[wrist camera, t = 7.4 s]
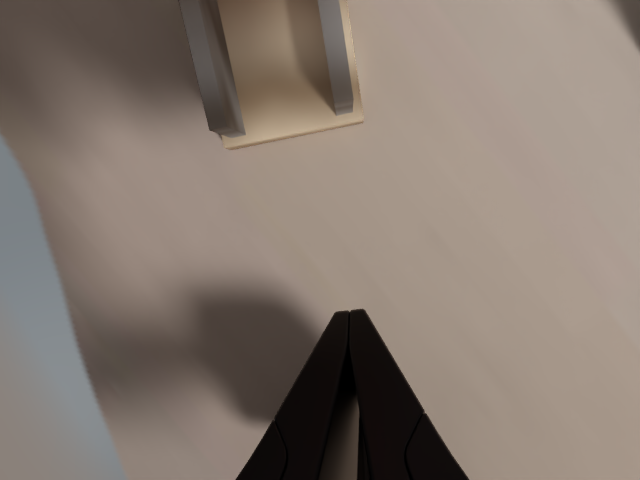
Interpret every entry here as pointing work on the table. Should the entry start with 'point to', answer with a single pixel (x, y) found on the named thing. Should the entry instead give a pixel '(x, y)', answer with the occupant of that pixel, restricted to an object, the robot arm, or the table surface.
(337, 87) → the chute
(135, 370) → the table surface
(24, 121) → the table surface
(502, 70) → the table surface
